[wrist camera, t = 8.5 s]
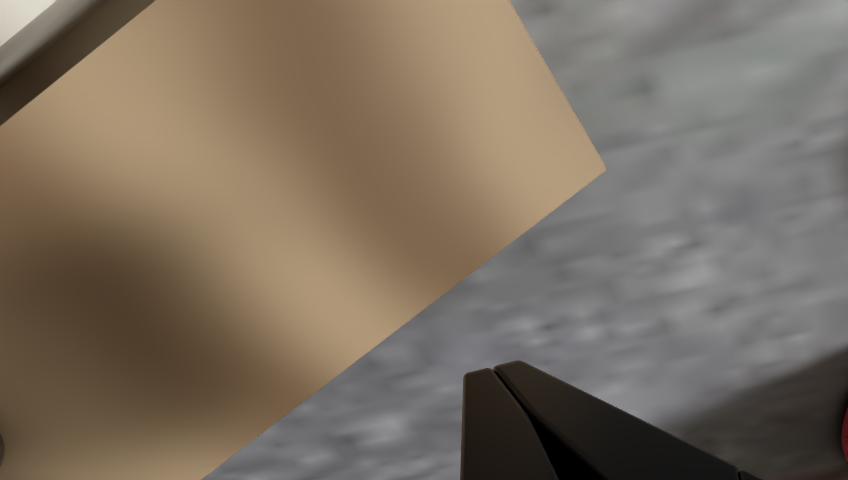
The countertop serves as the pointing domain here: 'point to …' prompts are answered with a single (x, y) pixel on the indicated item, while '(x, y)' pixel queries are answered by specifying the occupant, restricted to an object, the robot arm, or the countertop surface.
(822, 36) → the countertop surface
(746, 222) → the countertop surface
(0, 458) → the latch bar
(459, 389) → the countertop surface
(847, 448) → the wine bottle
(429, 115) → the door and jamb
